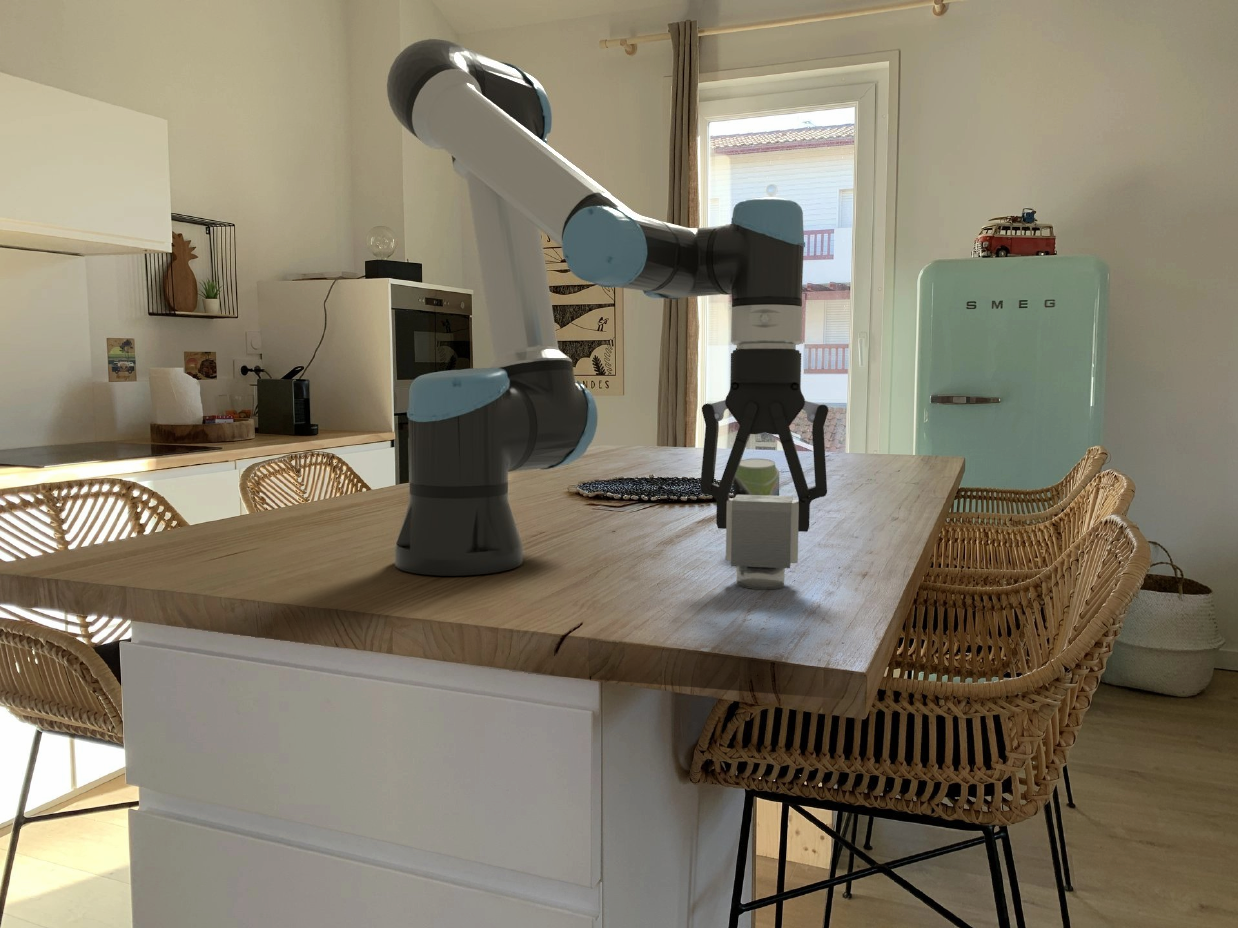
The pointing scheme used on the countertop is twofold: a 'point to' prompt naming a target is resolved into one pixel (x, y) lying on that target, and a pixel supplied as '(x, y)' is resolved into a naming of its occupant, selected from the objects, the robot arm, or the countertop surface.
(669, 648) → the countertop surface
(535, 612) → the countertop surface
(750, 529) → the brushed steel cube
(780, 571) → the ratchet
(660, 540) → the countertop surface
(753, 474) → the beverage can
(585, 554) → the countertop surface
